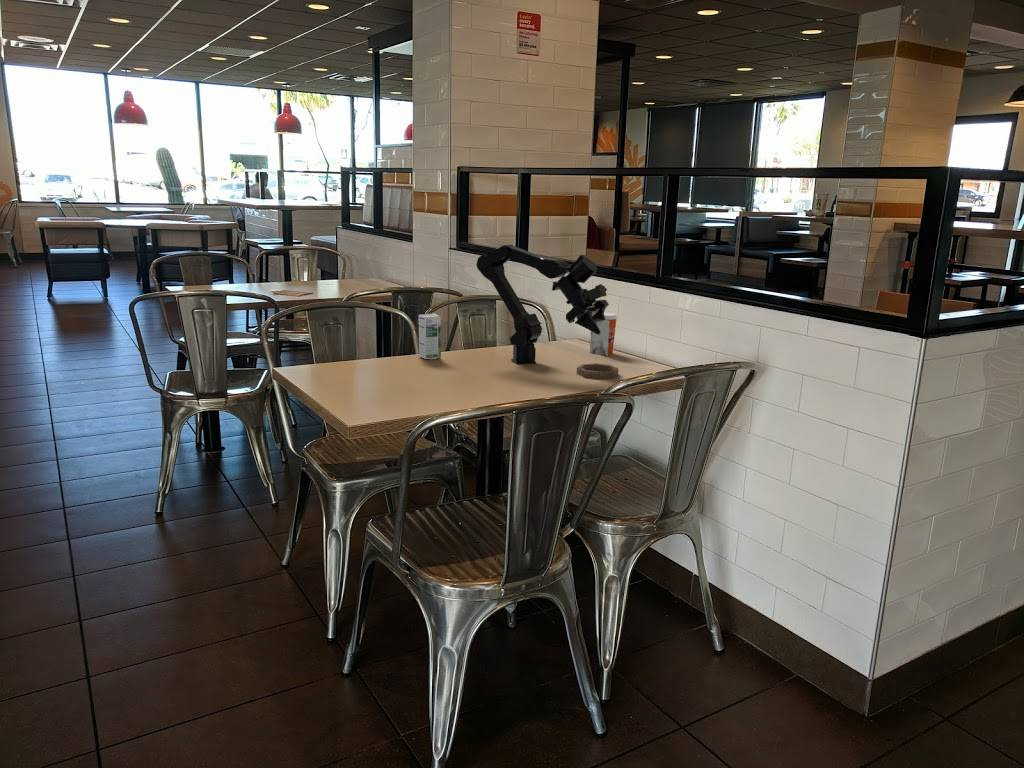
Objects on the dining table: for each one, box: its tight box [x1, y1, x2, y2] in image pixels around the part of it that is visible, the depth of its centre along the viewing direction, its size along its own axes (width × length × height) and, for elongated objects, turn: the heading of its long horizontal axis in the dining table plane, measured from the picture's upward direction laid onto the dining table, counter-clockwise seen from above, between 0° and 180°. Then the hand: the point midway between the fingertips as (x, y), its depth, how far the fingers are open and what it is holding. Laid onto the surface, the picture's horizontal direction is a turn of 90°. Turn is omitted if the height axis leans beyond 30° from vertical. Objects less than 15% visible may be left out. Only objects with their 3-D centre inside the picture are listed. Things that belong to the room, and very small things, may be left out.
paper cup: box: [604, 312, 618, 355], centre depth 267 cm, size 8×8×14 cm
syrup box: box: [418, 313, 442, 360], centre depth 253 cm, size 6×6×14 cm
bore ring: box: [576, 362, 619, 380], centre depth 237 cm, size 12×12×2 cm
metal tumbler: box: [589, 319, 610, 356], centre depth 235 cm, size 6×6×10 cm
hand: (603, 332), depth 233 cm, fingers closed on metal tumbler, 5 cm apart
